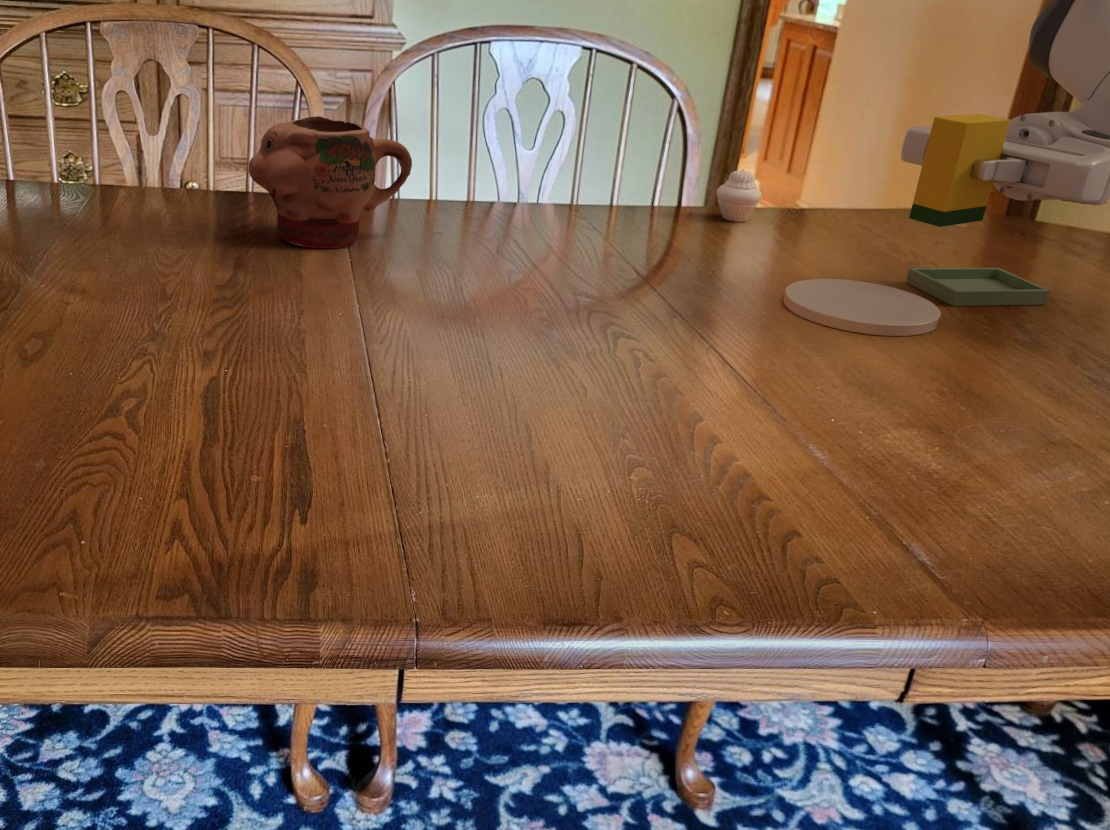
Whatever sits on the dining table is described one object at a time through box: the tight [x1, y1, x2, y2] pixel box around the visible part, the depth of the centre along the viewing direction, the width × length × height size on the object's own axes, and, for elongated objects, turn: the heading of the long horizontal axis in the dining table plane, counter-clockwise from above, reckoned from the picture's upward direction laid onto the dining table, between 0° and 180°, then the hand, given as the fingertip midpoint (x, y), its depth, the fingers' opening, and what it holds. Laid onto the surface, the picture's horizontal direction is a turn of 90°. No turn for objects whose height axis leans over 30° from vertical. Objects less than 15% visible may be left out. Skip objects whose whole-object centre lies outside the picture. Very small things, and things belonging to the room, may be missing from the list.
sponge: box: [908, 113, 1011, 228], centre depth 110 cm, size 7×4×10 cm, turn 121°
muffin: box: [716, 168, 762, 223], centre depth 155 cm, size 6×6×7 cm
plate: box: [782, 278, 942, 337], centre depth 120 cm, size 16×16×1 cm
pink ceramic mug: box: [248, 115, 413, 249], centre depth 133 cm, size 20×12×14 cm, turn 112°
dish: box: [905, 267, 1051, 307], centre depth 128 cm, size 12×9×2 cm
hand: (955, 165), depth 109 cm, fingers closed on sponge, 3 cm apart
